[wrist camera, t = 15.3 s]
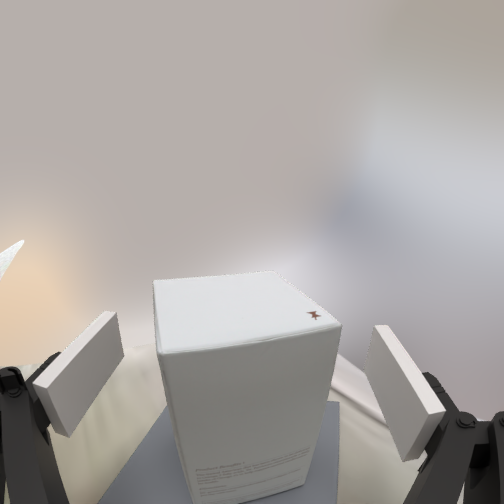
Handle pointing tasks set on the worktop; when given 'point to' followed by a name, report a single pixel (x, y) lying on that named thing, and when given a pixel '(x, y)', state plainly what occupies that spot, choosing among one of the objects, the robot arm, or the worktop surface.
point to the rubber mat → (174, 483)
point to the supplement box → (243, 381)
